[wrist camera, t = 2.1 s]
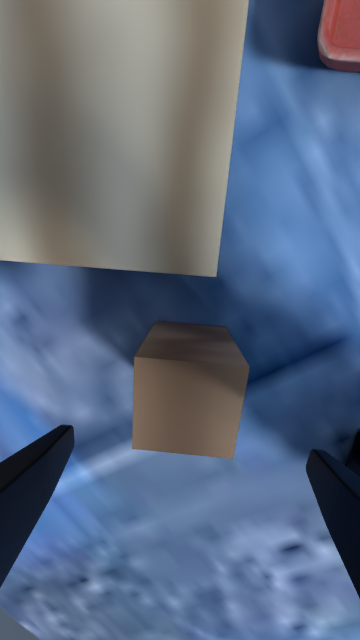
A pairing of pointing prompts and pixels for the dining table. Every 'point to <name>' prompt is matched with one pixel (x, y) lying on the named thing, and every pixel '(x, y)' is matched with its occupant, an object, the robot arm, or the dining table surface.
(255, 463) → the dining table surface
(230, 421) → the walnut block
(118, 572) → the dining table surface
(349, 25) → the plant saucer
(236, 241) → the dining table surface
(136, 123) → the birch base
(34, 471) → the robot arm
